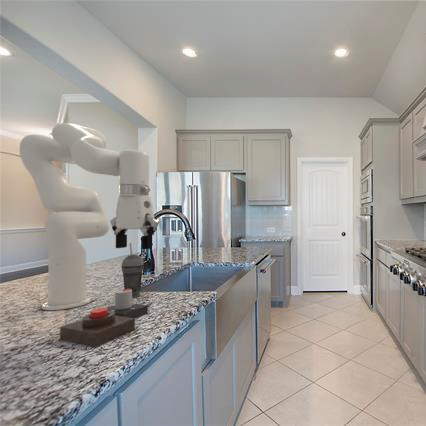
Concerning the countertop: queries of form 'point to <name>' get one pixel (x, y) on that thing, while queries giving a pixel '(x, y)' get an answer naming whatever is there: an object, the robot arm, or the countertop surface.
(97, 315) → the power button
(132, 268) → the beverage cup
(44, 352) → the countertop surface
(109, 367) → the countertop surface
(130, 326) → the power button base
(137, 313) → the knob
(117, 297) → the dial
